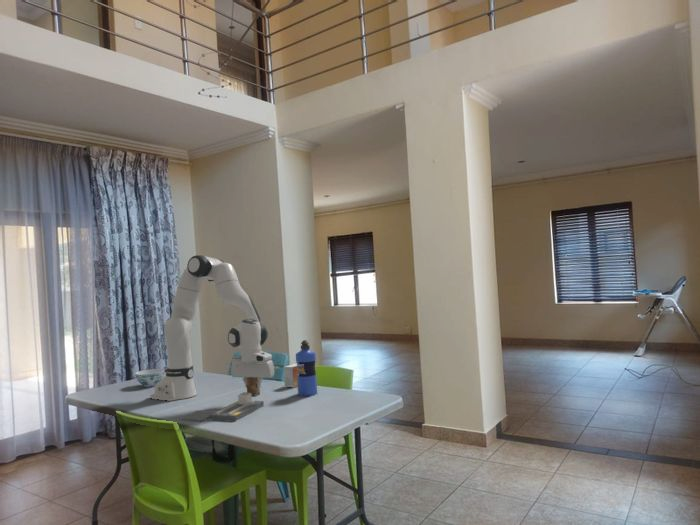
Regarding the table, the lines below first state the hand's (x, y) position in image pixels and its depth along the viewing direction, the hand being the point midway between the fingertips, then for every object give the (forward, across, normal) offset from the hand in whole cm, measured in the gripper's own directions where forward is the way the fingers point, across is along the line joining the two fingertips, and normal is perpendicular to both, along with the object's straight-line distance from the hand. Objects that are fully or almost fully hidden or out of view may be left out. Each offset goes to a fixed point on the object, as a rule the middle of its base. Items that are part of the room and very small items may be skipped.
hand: (253, 387), depth 217 cm
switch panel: (+7, 0, -13) cm, 15 cm away
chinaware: (+8, -80, +26) cm, 85 cm away
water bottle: (+8, +17, +20) cm, 27 cm away
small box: (+8, +3, +34) cm, 35 cm away
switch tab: (+5, 0, -7) cm, 9 cm away
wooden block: (+4, 0, 0) cm, 4 cm away
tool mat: (+7, -13, -21) cm, 26 cm away
